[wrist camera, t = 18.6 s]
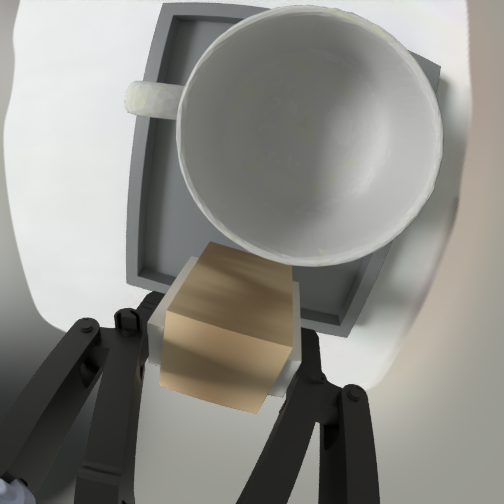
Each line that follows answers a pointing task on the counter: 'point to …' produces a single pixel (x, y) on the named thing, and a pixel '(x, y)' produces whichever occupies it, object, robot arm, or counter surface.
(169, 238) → the tray
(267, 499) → the robot arm
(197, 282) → the oak block
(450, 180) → the counter surface
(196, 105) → the teacup
